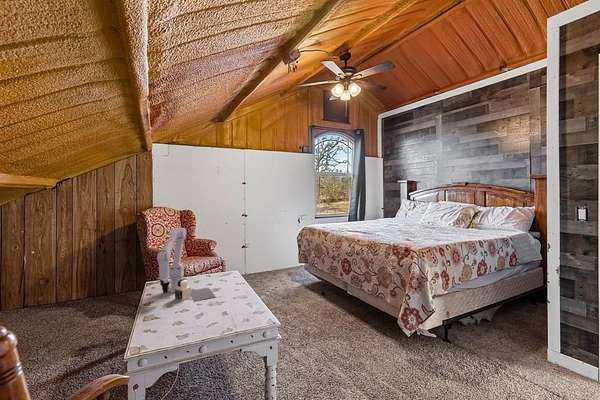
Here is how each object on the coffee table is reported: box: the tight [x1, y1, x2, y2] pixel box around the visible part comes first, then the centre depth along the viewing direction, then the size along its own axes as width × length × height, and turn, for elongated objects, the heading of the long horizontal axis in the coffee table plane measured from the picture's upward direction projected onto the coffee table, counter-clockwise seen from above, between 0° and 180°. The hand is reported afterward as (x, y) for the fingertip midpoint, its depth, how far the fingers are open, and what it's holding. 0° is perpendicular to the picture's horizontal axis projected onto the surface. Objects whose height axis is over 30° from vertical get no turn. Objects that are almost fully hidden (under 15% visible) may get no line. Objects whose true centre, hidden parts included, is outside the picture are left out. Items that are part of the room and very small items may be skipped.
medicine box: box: [174, 278, 192, 302], centre depth 182 cm, size 7×7×12 cm
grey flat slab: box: [191, 287, 216, 302], centre depth 188 cm, size 20×13×1 cm, turn 30°
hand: (164, 290), depth 180 cm, fingers open, 7 cm apart
